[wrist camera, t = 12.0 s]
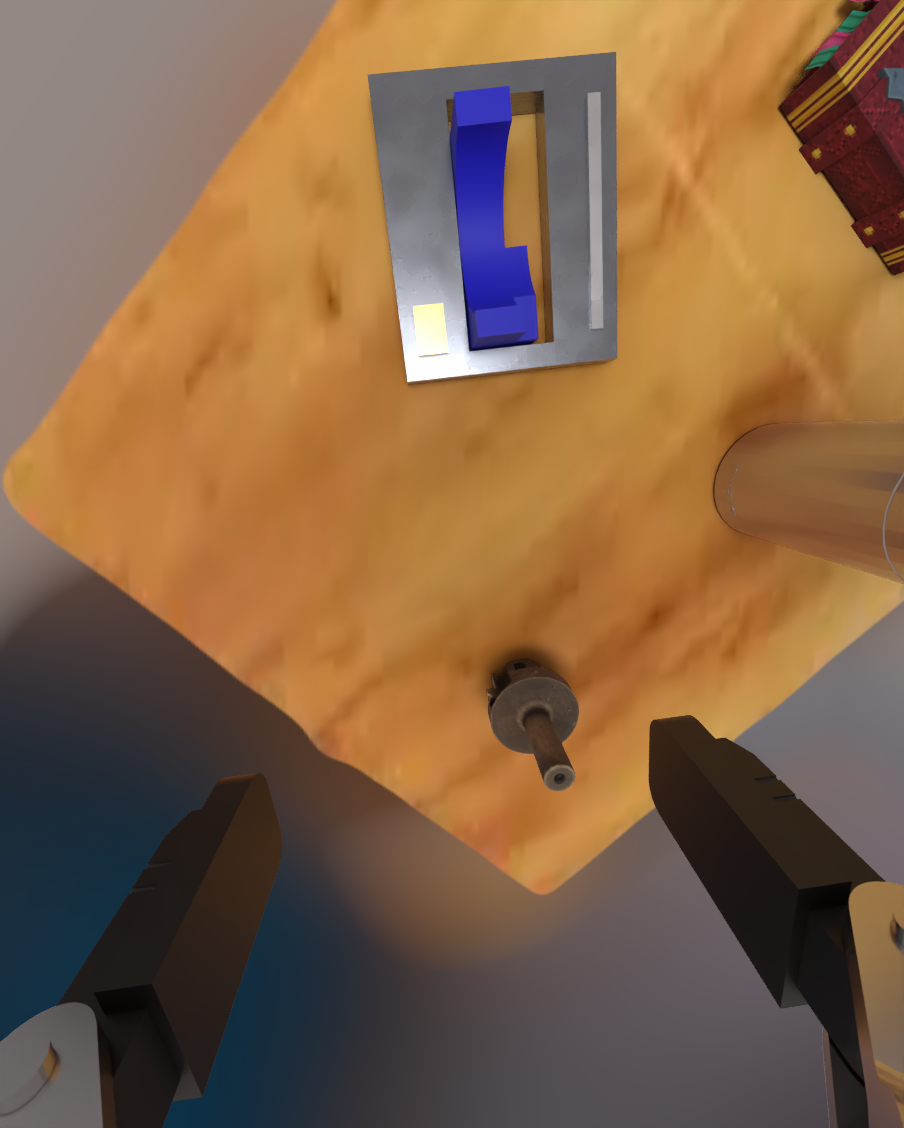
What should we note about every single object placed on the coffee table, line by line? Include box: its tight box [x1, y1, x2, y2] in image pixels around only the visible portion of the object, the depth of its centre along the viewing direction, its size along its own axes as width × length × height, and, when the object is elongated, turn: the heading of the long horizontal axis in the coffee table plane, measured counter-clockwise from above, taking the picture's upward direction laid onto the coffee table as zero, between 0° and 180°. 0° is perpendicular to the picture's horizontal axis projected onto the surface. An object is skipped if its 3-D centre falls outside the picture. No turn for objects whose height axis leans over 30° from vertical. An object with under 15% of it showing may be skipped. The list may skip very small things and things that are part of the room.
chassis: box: [368, 52, 617, 385], centre depth 30 cm, size 15×17×3 cm
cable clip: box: [450, 86, 538, 351], centre depth 28 cm, size 12×4×6 cm, turn 7°
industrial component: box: [486, 660, 579, 791], centre depth 35 cm, size 9×7×12 cm
